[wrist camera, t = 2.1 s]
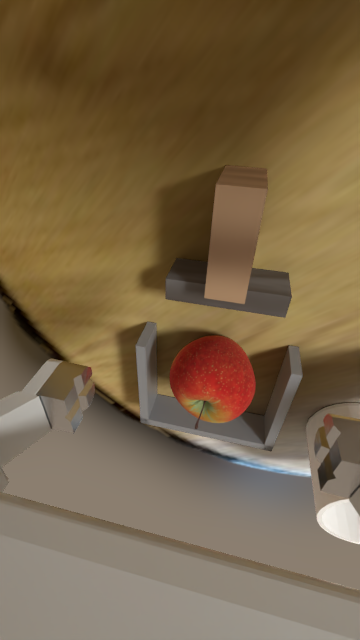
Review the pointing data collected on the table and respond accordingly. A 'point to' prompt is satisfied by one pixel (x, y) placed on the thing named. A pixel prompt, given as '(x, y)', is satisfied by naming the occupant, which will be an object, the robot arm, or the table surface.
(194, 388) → the apple
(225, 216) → the tan grey t-shaped block
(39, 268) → the table surface
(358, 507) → the robot arm
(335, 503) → the mug
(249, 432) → the tray
